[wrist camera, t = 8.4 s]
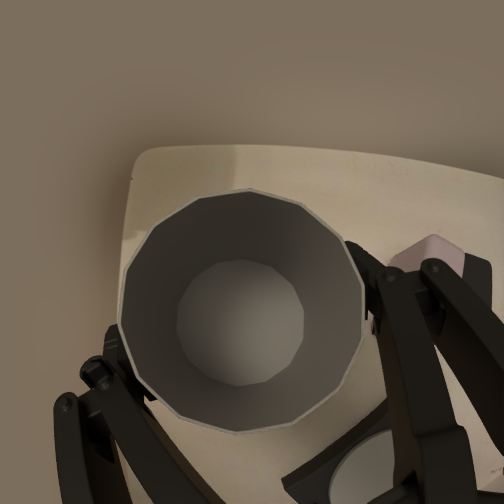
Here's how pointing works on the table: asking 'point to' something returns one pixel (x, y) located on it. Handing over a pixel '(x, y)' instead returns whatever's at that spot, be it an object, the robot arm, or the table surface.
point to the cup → (242, 311)
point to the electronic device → (430, 255)
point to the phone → (478, 277)
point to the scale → (349, 466)
